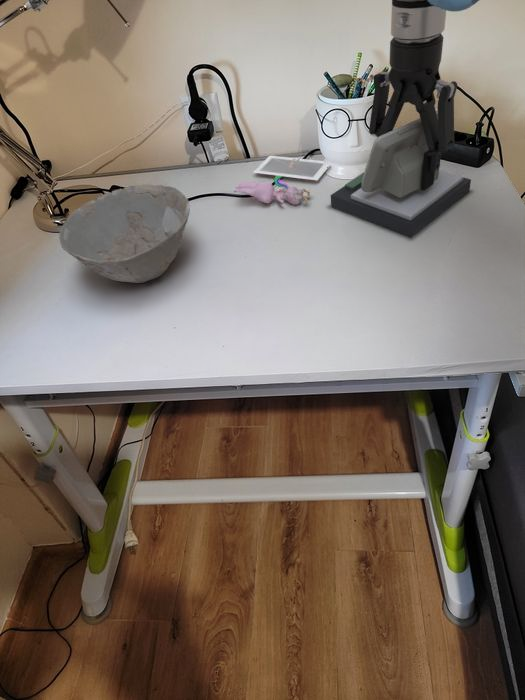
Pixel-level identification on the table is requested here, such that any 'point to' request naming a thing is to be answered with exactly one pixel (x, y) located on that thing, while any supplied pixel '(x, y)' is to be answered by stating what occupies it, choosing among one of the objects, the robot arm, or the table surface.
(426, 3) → the robot arm
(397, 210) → the scale
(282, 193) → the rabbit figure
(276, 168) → the touchpad
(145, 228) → the ceramic bowl
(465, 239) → the table surface
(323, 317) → the table surface
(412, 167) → the digital clock
